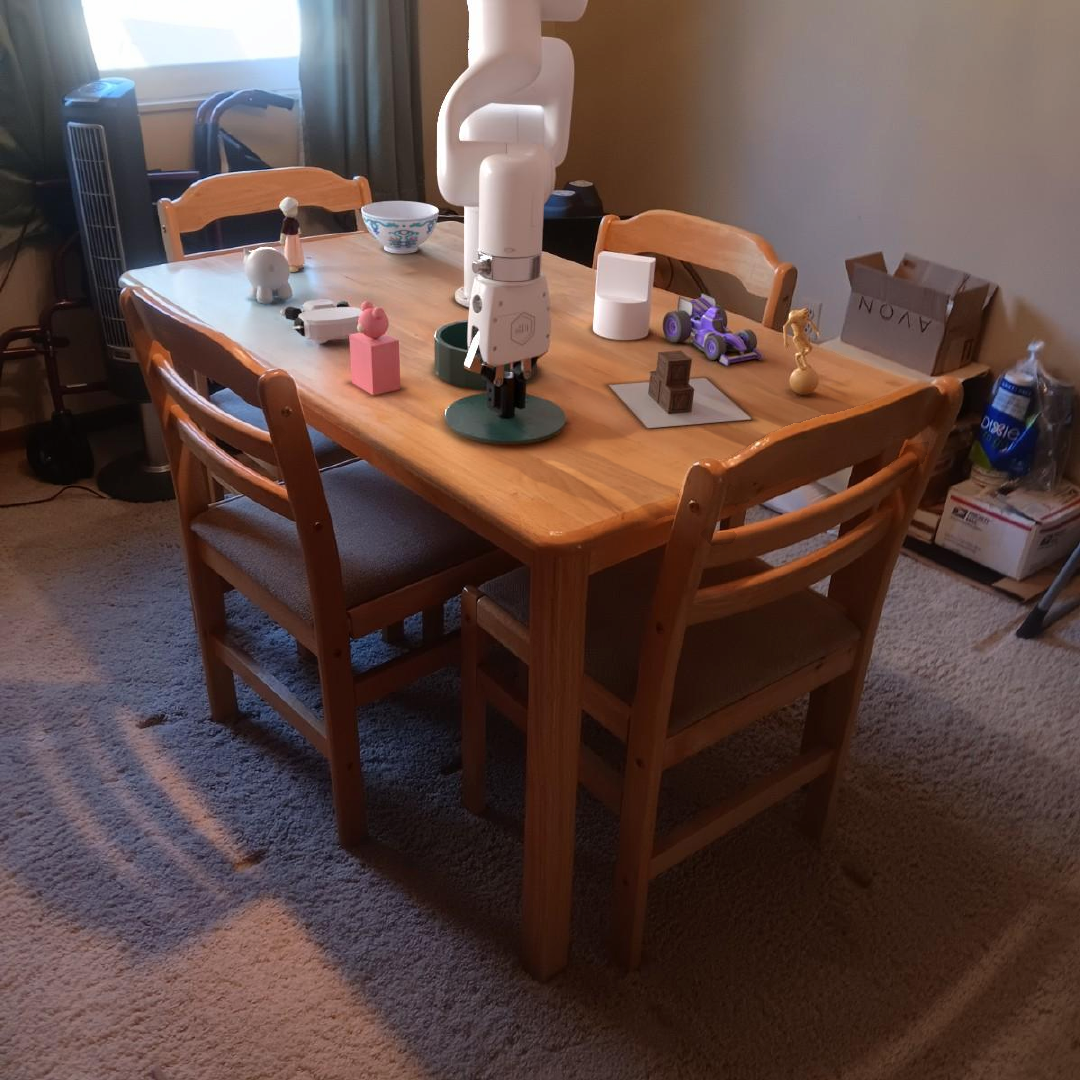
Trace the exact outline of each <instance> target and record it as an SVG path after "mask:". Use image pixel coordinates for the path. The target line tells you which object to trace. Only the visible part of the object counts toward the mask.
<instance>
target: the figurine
mask: <svg viewBox="0 0 1080 1080" xmlns="http://www.w3.org/2000/svg"><path fill="white" fill-rule="evenodd" d="M808 323H809V325H810V327H811V328H812V329H813V330H814V331H815V333H816V335H817V339H821V336H820V333H819V330H818V327H817V326H816V325H815V323H814V322H813V320H812V318H811V317H810V316H809V310H808V308H802V309H794V310H791V311H790V312H789V314H788V320H787V322H786V323H784V325H783V326H782V327H783V328H782V331H783V348H784V350H785V351H788V350H790V348H789V347H790V346H791V345H790V344H789V342H788V328H789V327H790V326H791V328H792V331H793V335H794V336H793V337H792V341H793V344H794V346H795V347H796V349H797V350H798V352H796V353H795V362H796V365H797V368H795V369H794V370H793V371H792V372H791V374H790V376H789V387H790V389H791V390H792V391H793V392H794V393H795V394H798V395H800V396H806V395H810V394H812V393H813V392H814V391H815V390H816V389H817V387H818V385H819V376H818V373H817V371H816V370H815V369H813V368H812V366H811V365H810V364H809V363H808V362H807V359H806V357H805V356H807V355H808V354H809V353H811V352H812V351H813V348H814V347H813V345H812V343H811V342H810V340H809V337H808V334H807V332H806V331H805V329H806V327H807V325H808ZM800 358H801V359H800ZM801 362H802V363H801Z"/></svg>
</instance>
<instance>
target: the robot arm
mask: <svg viewBox="0 0 1080 1080" xmlns="http://www.w3.org/2000/svg"><path fill="white" fill-rule="evenodd" d="M466 2H467V6H468V12H469V27H468V28H469V29H468V33H469V34H468V35H469V38H468V39H469V40H468V49H469V50H468V67H467V69H466V70H465V71H464V72H463V73H461V75H460V76H459V77H458V78H457V80H456V81H455V82H454V83H453V84H452V86H451V88H450V89H449V91H448V92H447V94H446V96H445V98H444V100H443V103H442V104H441V107H440V111H439V116H438V121H437V130H436V131H437V133H436V134H437V135H436V136H437V137H436V138H437V139H436V140H437V141H436V151H437V152H436V154H437V155H436V156H437V157H436V168H437V169H436V176H437V185H438V189H439V193H440V194H441V197H442V199H444V201H446V202H447V204H450V205H453V206H455V207H463V208H464V211H463V212H464V215H463V217H464V219H463V221H464V222H463V225H464V227H463V228H464V229H463V233H464V235H463V236H464V237H463V239H464V241H463V244H464V245H463V247H464V248H463V251H464V252H463V285H462V286H461V287H459V288H457V289H456V290H455V292H454V299H455V301H456V303H458V304H459V305H461V306H464V307H466V308H468V318H467V320H468V351H469V352H468V355H467V357H466V360H465V363H464V368H465V369H467V370H469V371H471V372H474V373H477V374H480V375H481V376H482V378H483V379H484V380H486V381H487V390H486V393H487V395H486V402H487V407H488V409H490V410H492V411H494V412H496V413H498V414H499V415H503V414H505V413H506V392H507V387H506V385H504V384H502V383H503V375H504V365H505V364H509V363H510V369H511V372H513V373H515V374H516V400H515V407H517V408H519V409H524V408H525V397H526V394H527V383H526V379H528V378H529V377H530V376H531V369H532V368H533V366H534V365H535V364H536V362H537V363H538V360H540V359H541V358H542V357H543V356H545V355H546V354H547V353H548V352H549V349H550V345H551V332H552V331H551V330H552V328H551V324H552V323H551V319H552V318H551V300H550V299H551V298H550V292H549V286H548V285H549V284H548V279H547V275H546V274H545V273H542V260H543V259H542V257H543V256H542V255H543V236H544V235H543V234H544V232H543V230H544V212H545V211H544V209H545V205H546V203H547V202H548V200H549V198H550V196H551V195H553V193H554V191H555V186H556V179H557V172H556V169H557V167H560V166H561V165H562V164H563V162H564V161H565V159H566V156H567V154H568V147H569V140H570V131H571V122H572V121H571V120H572V119H571V118H572V108H573V98H574V89H575V88H574V87H575V60H574V54H573V51H572V48H571V46H570V45H569V44H568V42H566V41H565V40H563V39H561V38H558V37H553V36H552V37H551V36H542V21H543V22H544V21H546V22H577V21H579V20H580V19H581V18H582V17H583V16H584V14H585V12H586V9H587V7H588V2H589V0H466ZM481 357H482V359H483V364H482V363H480V360H481ZM493 366H494V371H493Z"/></svg>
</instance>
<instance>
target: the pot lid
mask: <svg viewBox="0 0 1080 1080" xmlns="http://www.w3.org/2000/svg"><path fill="white" fill-rule="evenodd" d="M502 384H504V385H506V387H507V392H506V413H505V414H503V415H499V414H498V413H496V412H494V411H492V410H490V409H488V407H487V402H486V395H487V392H481V393H475V394H471V395H467V396H464V397H462V398H459V399H457V400H455V401H454V402H452V403H450V404H449V406H448V407H447V408H446V409H445V413H444V420H445V423H446V425H447V426H448V427H449V428H450V429H451V430H452V431H453V432H455V433H456V434H458V435H460V436H462V437H465V438H467V439H471V440H473V441H477V442H482V443H487V444H495V445H524V444H531V443H537V442H540V441H545V440H547V439H551V438H552V437H554V436H556V435H557V434H559V433H561V431H563V429H564V427H566V424H567V416H566V412H565V411H564V410H563V408H562V407H560V406H559V405H558V404H556V403H555V402H553V401H551V400H548V399H546V398H543V397H541V396H538V395H534V394H528V393H526V397H525V408H524V409H519V408H517V407H515V400H516V374H515V373H513V372H507V371H505V372H504V375H503V383H502Z"/></svg>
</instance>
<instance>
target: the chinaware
mask: <svg viewBox="0 0 1080 1080" xmlns="http://www.w3.org/2000/svg"><path fill="white" fill-rule="evenodd" d="M360 211H361V215H362V220H363V222H364V225H365V227H366V228H367V231H368V232H369V233H370V236H372V237H373V238H374V239H375V240H376V241H377V242H378V243H379V244H381V245H382V246H383V249H384V251H386V252H388V253H391V254H401V255H402V254H413V253H416V252H417V251H419V246H420V245H422V244H423V243H425V242H426V241H427V240H428V239H429V237H431V235H432V233H433V232H434V230H435V228H436V225H437V222H438V218H439V213H440V210H439V209H438V207H437V206H434V205H432V204H428V203H425V202H419V201H408V200H406V201H405V200H385V201H378V202H372V203H368V204H365V205H364V206H362V207H361V209H360Z"/></svg>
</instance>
